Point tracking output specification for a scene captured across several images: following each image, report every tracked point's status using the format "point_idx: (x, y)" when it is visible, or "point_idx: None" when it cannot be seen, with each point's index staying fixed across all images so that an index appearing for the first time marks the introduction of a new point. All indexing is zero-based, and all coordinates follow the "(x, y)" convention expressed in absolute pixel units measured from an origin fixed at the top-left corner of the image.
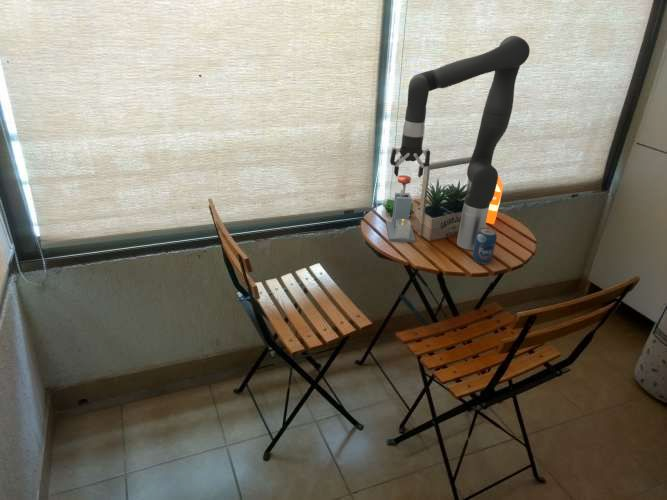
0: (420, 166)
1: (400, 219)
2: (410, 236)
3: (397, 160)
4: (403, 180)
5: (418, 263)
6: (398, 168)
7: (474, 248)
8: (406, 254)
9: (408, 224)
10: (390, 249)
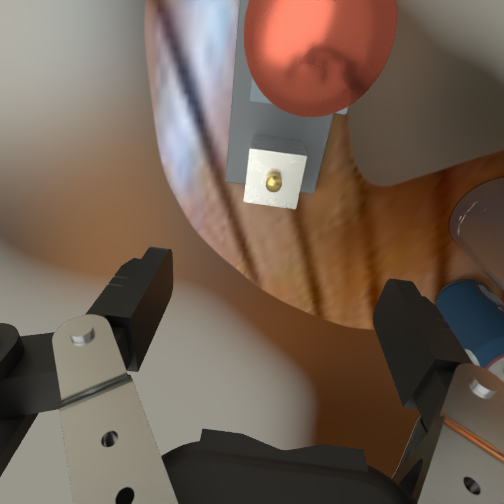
0: (423, 410)
1: (267, 155)
2: (305, 168)
3: (69, 394)
4: (284, 110)
5: (279, 296)
6: (140, 356)
7: (450, 315)
8: (261, 256)
9: (287, 204)
10: (221, 227)
